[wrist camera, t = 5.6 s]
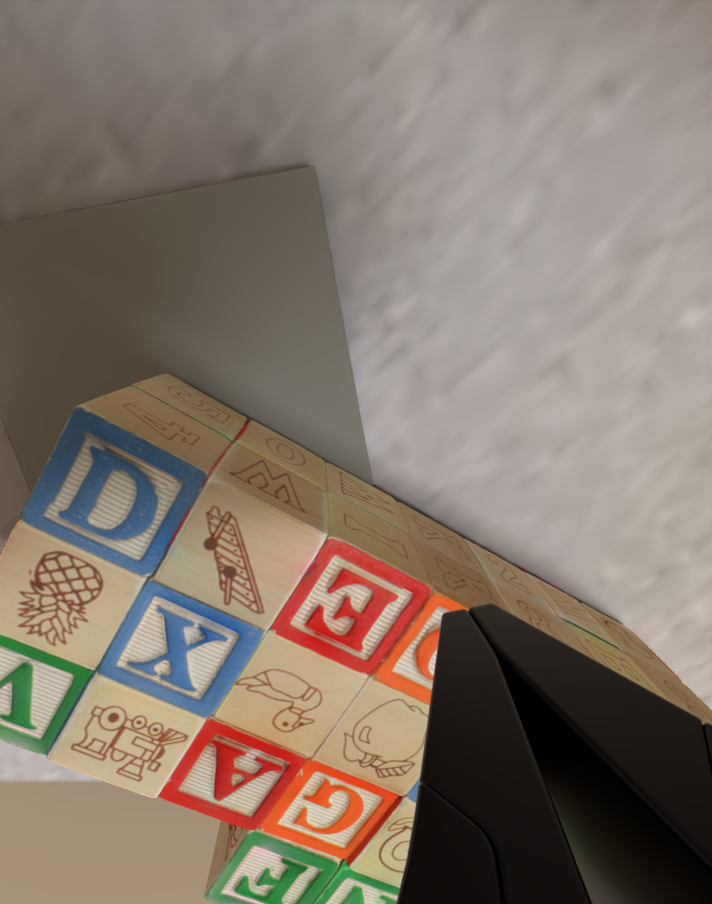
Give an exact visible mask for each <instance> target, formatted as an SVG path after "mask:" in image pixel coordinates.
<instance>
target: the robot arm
mask: <svg viewBox="0 0 712 904" xmlns="http://www.w3.org/2000/svg"><path fill="white" fill-rule="evenodd" d="M396 904H712V724H710V723H704V724H703V723H702V720H701V719H700V718H699V717H697V716H695V715H693V714H691V713H690V712H688V711H686V710H684V709H682V708H681V707H679V706H677V705H675V704H673V703H672V702H670V701H668V700H666V699H664V698H663V697H661V696H659V695H657V694H655V693H654V692H652V691H650V690H648V689H646V688H645V687H643V686H641V685H639V684H637V683H635V682H634V681H632V680H630V679H628V678H626V677H625V676H623V675H621V674H619V673H617V672H616V671H614V670H612V669H610V668H608V667H607V666H605V665H603V664H601V663H599V662H598V661H596V660H594V659H592V658H590V657H589V656H587V655H585V654H583V653H581V652H580V651H578V650H576V649H574V648H572V647H571V646H569V645H567V644H565V643H563V642H562V641H560V640H558V639H556V638H554V637H552V636H551V635H549V634H547V633H545V632H543V631H542V630H540V629H538V628H536V627H534V626H533V625H531V624H529V623H527V622H525V621H524V620H522V619H520V618H518V617H516V616H515V615H513V614H511V613H509V612H507V611H506V610H504V609H502V608H500V607H498V606H497V605H495V604H492V603H489V604H484V605H479V606H474V607H471V608H469V610H468V611H467V610H466V609H460V610H455V611H450V612H445V613H444V614H443V615H442V618H441V625H440V633H439V640H438V647H437V655H436V662H435V670H434V677H433V684H432V692H431V699H430V706H429V714H428V721H427V728H426V736H425V743H424V750H423V758H422V765H421V773H420V785H419V786H418V792H417V799H416V806H415V813H414V819H413V825H412V831H411V837H410V843H409V848H408V854H407V860H406V864H405V868H404V873H403V877H402V881H401V885H400V889H399V894H398V898H397V902H396Z"/></svg>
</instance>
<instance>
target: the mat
mask: <svg viewBox="0 0 712 904" xmlns="http://www.w3.org/2000/svg"><path fill="white" fill-rule="evenodd" d="M162 374H170V375H172V376H174V377H176V378H178V379H179V380H181V381H183V382H184V383H186V384H188V385H189V386H191V387H193V388H195V389H197V390H198V391H200V392H202V393H204V394H206V395H207V396H209V397H211V398H213V399H214V400H216V401H218V402H220V403H221V404H223V405H225V406H227V407H228V408H230V409H232V410H234V411H235V412H237V413H239V414H241V415H243V416H245V417H246V418H247V420H248V421H251V420H253V421H255V422H257V423H259V424H261V425H263V426H265V427H267V428H269V429H270V430H272V431H274V432H275V433H277V434H279V435H281V436H282V437H284V438H286V439H288V440H290V441H292V442H294V443H296V444H298V445H299V446H301V447H303V448H304V449H306V450H308V451H309V452H311V453H313V454H315V455H316V456H318V457H320V458H321V459H322V460H323V461H324V462H327V463H331V464H333V465H334V466H336V467H338V468H340V469H342V470H344V471H345V472H347V473H349V474H351V475H353V476H355V477H356V478H358V479H360V480H362V481H364V482H366V483H367V484H369V485H371V486H373V481H372V475H371V470H370V465H369V459H368V454H367V448H366V443H365V438H364V432H363V427H362V421H361V416H360V411H359V405H358V400H357V394H356V389H355V384H354V378H353V373H352V367H351V362H350V357H349V351H348V346H347V340H346V335H345V329H344V324H343V319H342V313H341V308H340V302H339V297H338V292H337V286H336V281H335V275H334V270H333V265H332V259H331V254H330V248H329V243H328V238H327V232H326V227H325V221H324V216H323V211H322V205H321V200H320V194H319V189H318V184H317V178H316V173H315V167H314V166H309V167H304V168H299V169H293V170H288V171H283V172H277V173H272V174H267V175H261V176H256V177H250V178H245V179H240V180H234V181H229V182H224V183H218V184H213V185H208V186H202V187H197V188H192V189H186V190H181V191H176V192H170V193H165V194H160V195H154V196H149V197H143V198H138V199H133V200H127V201H122V202H117V203H111V204H106V205H101V206H95V207H90V208H85V209H79V210H74V211H69V212H63V213H58V214H53V215H47V216H42V217H36V218H31V219H26V220H20V221H15V222H10V223H4V224H0V415H1V418H2V421H3V423H4V426H5V428H6V431H7V433H8V436H9V438H10V441H11V443H12V446H13V449H14V451H15V454H16V456H17V459H18V461H19V464H20V466H21V469H22V471H23V474H24V477H25V479H26V482H27V484H28V487H29V489H30V492H31V493H32V491H33V489H34V487H35V485H36V483H37V481H38V479H39V477H40V475H41V473H42V471H43V469H44V467H45V465H46V463H47V461H48V459H49V457H50V455H51V453H52V451H53V449H54V447H55V445H56V443H57V441H58V439H59V437H60V435H61V433H62V431H63V429H64V427H65V425H66V423H67V421H68V419H69V417H70V415H71V414H72V412H73V410H74V409H75V407H76V406H78V405H81V404H83V403H85V402H88V401H91V400H93V399H96V398H98V397H101V396H103V395H106V394H109V393H112V392H115V391H118V390H121V389H124V388H127V387H131V386H132V385H133V384H134V383H137V382H140V381H143V380H146V379H150V378H152V377H155V376H158V375H162ZM373 487H374V486H373Z"/></svg>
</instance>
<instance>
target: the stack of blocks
mask: <svg viewBox="0 0 712 904" xmlns="http://www.w3.org/2000/svg"><path fill="white" fill-rule="evenodd" d="M489 603H492V604H495V605H497V606H498V607H500V608H502V609H504V610H506V611H507V612H509V613H511V614H513V615H515V616H516V617H518V618H520V619H522V620H524V621H525V622H527V623H529V624H531V625H533V626H534V627H536V628H538V629H540V630H542V631H543V632H545V633H547V634H549V635H551V636H552V637H554V638H556V639H558V640H560V641H562V642H563V643H565V644H567V645H569V646H571V647H572V648H574V649H576V650H578V651H580V652H581V653H583V654H585V655H587V656H589V657H590V658H592V659H594V660H596V661H598V662H599V663H601V664H603V665H605V666H607V667H608V668H610V669H612V670H614V671H616V672H617V673H619V674H621V675H623V676H625V677H626V678H628V679H630V680H632V681H634V682H635V683H637V684H639V685H641V686H643V687H645V688H646V689H648V690H650V691H652V692H654V693H655V694H657V695H659V696H661V697H663V698H664V699H666V700H668V701H670V702H672V703H673V704H675V705H677V706H679V707H681V708H682V709H684V710H686V711H688V712H690V713H691V714H693V715H695V716H697V717H699V718H700V719H701V720H702V723H703V724H704V723H710V724H712V710H711V709H710V708H709V707H708V706H707V705H705V704H704V703H703V702H702V701H701V700H700V699H699V698H698V697H697V696H696V695H695V694H694V693H693V692H692V691H691V690H690V689H689V688H688V687H687V686H686V685H684V684H683V683H682V681H681V679H680V678H679V677H678V676H677V675H676V674H675V673H674V672H673V671H672V670H671V669H670V668H669V667H668V666H667V665H666V664H665V663H664V662H663V661H662V660H661V659H660V658H659V657H658V656H657V655H656V654H655V653H654V652H653V651H652V650H651V649H650V648H649V647H648V646H647V645H646V644H645V643H644V642H643V641H642V640H641V639H640V638H639V637H638V636H637V635H636V634H635V633H633V632H632V631H631V630H630V629H628V628H627V627H625V626H624V625H622V624H620V623H618V622H616V621H614V620H613V619H611V618H609V617H607V616H605V615H604V614H602V613H600V612H598V611H596V610H594V609H593V608H591V607H589V606H587V605H585V604H583V603H579V602H578V601H577V600H576V599H574V598H573V597H571V596H569V595H567V594H565V593H564V592H562V591H560V590H558V589H556V588H554V587H553V586H551V585H549V584H547V583H545V582H543V581H542V580H540V579H538V578H536V577H534V576H532V575H530V574H528V573H526V572H523V571H522V570H520V569H519V568H517V567H515V566H513V565H512V564H510V563H508V562H507V561H505V560H503V559H501V558H499V557H497V556H496V555H494V554H492V553H490V552H488V551H487V550H485V549H483V548H481V547H479V546H478V545H476V544H474V543H472V542H470V541H468V540H466V539H463V538H462V537H460V536H459V535H458V534H456V533H454V532H452V531H451V530H449V529H447V528H445V527H443V526H442V525H440V524H438V523H436V522H435V521H433V520H431V519H429V518H427V517H426V516H424V515H422V514H420V513H418V512H417V511H415V510H413V509H411V508H409V507H408V506H406V505H404V504H402V503H400V502H397V501H395V500H394V499H393V498H392V497H391V496H389V495H387V494H385V493H384V492H382V491H380V490H378V489H376V488H375V487H373V486H371V485H369V484H367V483H366V482H364V481H362V480H360V479H358V478H356V477H355V476H353V475H351V474H349V473H347V472H345V471H344V470H342V469H340V468H338V467H336V466H334V465H333V464H331V463H327V462H324V461H323V460H322V459H321V458H320V457H318V456H316V455H315V454H313V453H311V452H309V451H308V450H306V449H304V448H303V447H301V446H299V445H298V444H296V443H294V442H292V441H290V440H288V439H286V438H284V437H282V436H281V435H279V434H277V433H275V432H274V431H272V430H270V429H269V428H267V427H265V426H263V425H261V424H259V423H257V422H255V421H253V420H251V421H248V420H247V418H246V417H245V416H243V415H241V414H239V413H237V412H235V411H234V410H232V409H230V408H228V407H227V406H225V405H223V404H221V403H220V402H218V401H216V400H214V399H213V398H211V397H209V396H207V395H206V394H204V393H202V392H200V391H198V390H197V389H195V388H193V387H191V386H189V385H188V384H186V383H184V382H183V381H181V380H179V379H178V378H176V377H174V376H172V375H170V374H162V375H158V376H155V377H152V378H150V379H146V380H143V381H140V382H137V383H134V384H133V385H132V386H131V387H127V388H124V389H121V390H118V391H115V392H112V393H109V394H106V395H103V396H101V397H98V398H96V399H93V400H91V401H88V402H85V403H83V404H81V405H78V406H76V407H75V409H74V410H73V412H72V414H71V415H70V417H69V419H68V421H67V423H66V425H65V427H64V429H63V431H62V433H61V435H60V437H59V439H58V441H57V443H56V445H55V447H54V449H53V451H52V453H51V455H50V457H49V459H48V461H47V463H46V465H45V467H44V469H43V471H42V473H41V475H40V477H39V479H38V481H37V483H36V485H35V487H34V489H33V491H32V493H31V495H30V497H29V499H28V501H27V503H26V505H25V506H24V508H23V510H22V512H21V519H20V520H18V521H17V522H16V524H15V526H14V528H13V530H12V532H11V534H10V536H9V538H8V540H7V542H6V544H5V546H4V548H3V550H2V552H1V554H0V740H2V741H4V742H7V743H9V744H12V745H15V746H18V747H21V748H23V749H26V750H29V751H32V752H35V753H39V754H44V755H47V758H48V760H49V761H51V762H53V763H55V764H58V765H61V766H64V767H67V768H69V769H72V770H75V771H78V772H80V773H83V774H86V775H89V776H91V777H94V778H97V779H100V780H103V781H105V782H108V783H111V784H114V785H117V786H119V787H122V788H125V789H128V790H131V791H133V792H136V793H139V794H142V795H145V796H147V797H151V798H155V797H158V796H159V797H161V798H163V799H165V800H168V801H171V802H173V803H176V804H179V805H181V806H184V807H187V808H190V809H192V810H195V811H198V812H201V813H203V814H206V815H209V816H212V817H214V818H217V819H220V820H221V823H220V827H219V831H218V836H217V841H216V845H215V850H214V855H213V859H212V863H211V868H210V872H209V877H208V882H207V887H206V890H205V895H204V897H205V898H206V899H207V900H210V901H213V902H216V903H219V904H396V902H397V898H398V894H399V889H400V885H401V881H402V877H403V873H404V868H405V864H406V860H407V854H408V848H409V843H410V837H411V831H412V825H413V819H414V813H415V806H416V799H417V792H418V786H419V785H420V773H421V765H422V758H423V750H424V743H425V736H426V728H427V721H428V714H429V706H430V699H431V692H432V684H433V677H434V670H435V662H436V655H437V647H438V640H439V633H440V625H441V618H442V615H443V614H444V613H445V612H450V611H455V610H460V609H466V610H467V611H468V610H469V608H471V607H474V606H479V605H484V604H489Z"/></svg>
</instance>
